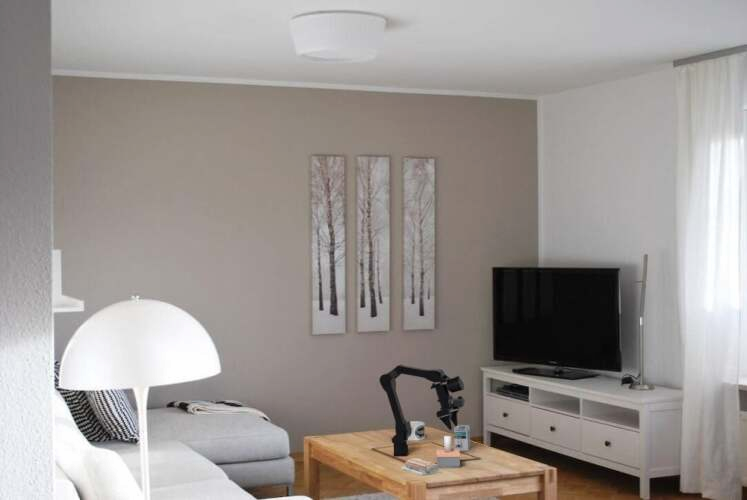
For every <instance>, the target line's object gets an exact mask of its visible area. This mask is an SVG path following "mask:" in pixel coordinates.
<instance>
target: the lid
mask: <svg viewBox="0 0 747 500" xmlns="http://www.w3.org/2000/svg"><path fill="white" fill-rule="evenodd" d="M443 443H444V444H443V447H444V448H443V449H435V453H436V458H437V457H461V453H460V451H459V449H455V448H454V449H453V448H452V435H444V436H443Z"/></svg>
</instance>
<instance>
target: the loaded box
mask: <svg viewBox="0 0 747 500" xmlns="http://www.w3.org/2000/svg"><path fill="white" fill-rule="evenodd" d="M460 457H461V456H460ZM460 457H437V456H436V464H437V466H438V469H460V468H461V458H460Z"/></svg>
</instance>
